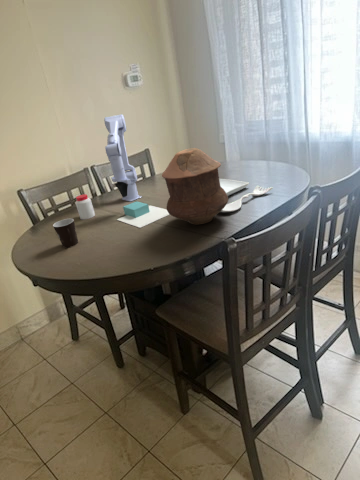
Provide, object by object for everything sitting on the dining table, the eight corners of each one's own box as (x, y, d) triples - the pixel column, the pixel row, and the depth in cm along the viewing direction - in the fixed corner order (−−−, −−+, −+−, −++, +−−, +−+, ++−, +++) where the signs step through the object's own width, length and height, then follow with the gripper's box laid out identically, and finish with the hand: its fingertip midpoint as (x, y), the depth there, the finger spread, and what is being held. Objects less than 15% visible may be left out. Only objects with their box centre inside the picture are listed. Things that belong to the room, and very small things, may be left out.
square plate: (214, 206, 160) (213, 198, 158) (175, 199, 180) (174, 192, 178) (250, 188, 175) (249, 181, 173) (211, 183, 195) (210, 176, 193)
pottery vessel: (241, 222, 137) (233, 146, 125) (180, 240, 132) (165, 162, 120) (216, 205, 160) (207, 139, 148) (163, 219, 155) (149, 152, 143)
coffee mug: (62, 241, 151) (55, 220, 147) (82, 238, 151) (75, 217, 147) (56, 253, 141) (48, 231, 137) (77, 249, 141) (70, 227, 137)
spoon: (274, 192, 163) (273, 185, 161) (229, 217, 145) (228, 209, 144) (258, 190, 169) (257, 184, 168) (213, 214, 152) (212, 206, 150)
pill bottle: (98, 213, 180) (92, 193, 175) (90, 219, 173) (83, 198, 169) (85, 213, 182) (79, 194, 178) (77, 219, 176) (70, 199, 171)
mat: (116, 220, 165) (116, 219, 165) (150, 205, 176) (150, 205, 176) (140, 228, 150) (140, 227, 150) (175, 212, 161) (175, 211, 161)
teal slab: (122, 206, 168) (134, 209, 161) (136, 201, 172) (147, 204, 165) (124, 214, 170) (136, 217, 162) (138, 208, 174) (149, 211, 167)
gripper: (103, 170, 168) (110, 197, 174) (119, 172, 158) (126, 201, 164) (115, 166, 172) (122, 192, 178) (131, 168, 162) (138, 196, 167)
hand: (124, 196), depth 171 cm, fingers closed
